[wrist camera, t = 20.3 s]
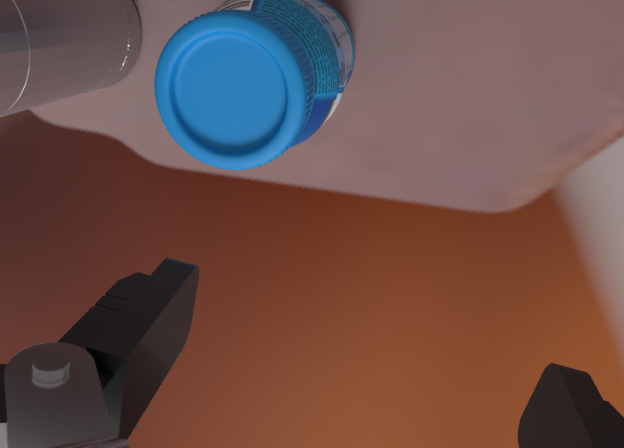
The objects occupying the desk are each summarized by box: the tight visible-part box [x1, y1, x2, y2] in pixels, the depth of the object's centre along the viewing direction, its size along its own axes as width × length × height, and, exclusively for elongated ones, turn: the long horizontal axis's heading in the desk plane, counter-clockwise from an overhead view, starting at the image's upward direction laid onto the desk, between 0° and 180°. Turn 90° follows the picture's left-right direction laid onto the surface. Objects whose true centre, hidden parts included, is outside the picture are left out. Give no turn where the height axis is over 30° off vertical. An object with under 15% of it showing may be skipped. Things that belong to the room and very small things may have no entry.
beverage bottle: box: [155, 0, 355, 170], centre depth 32 cm, size 8×8×20 cm
